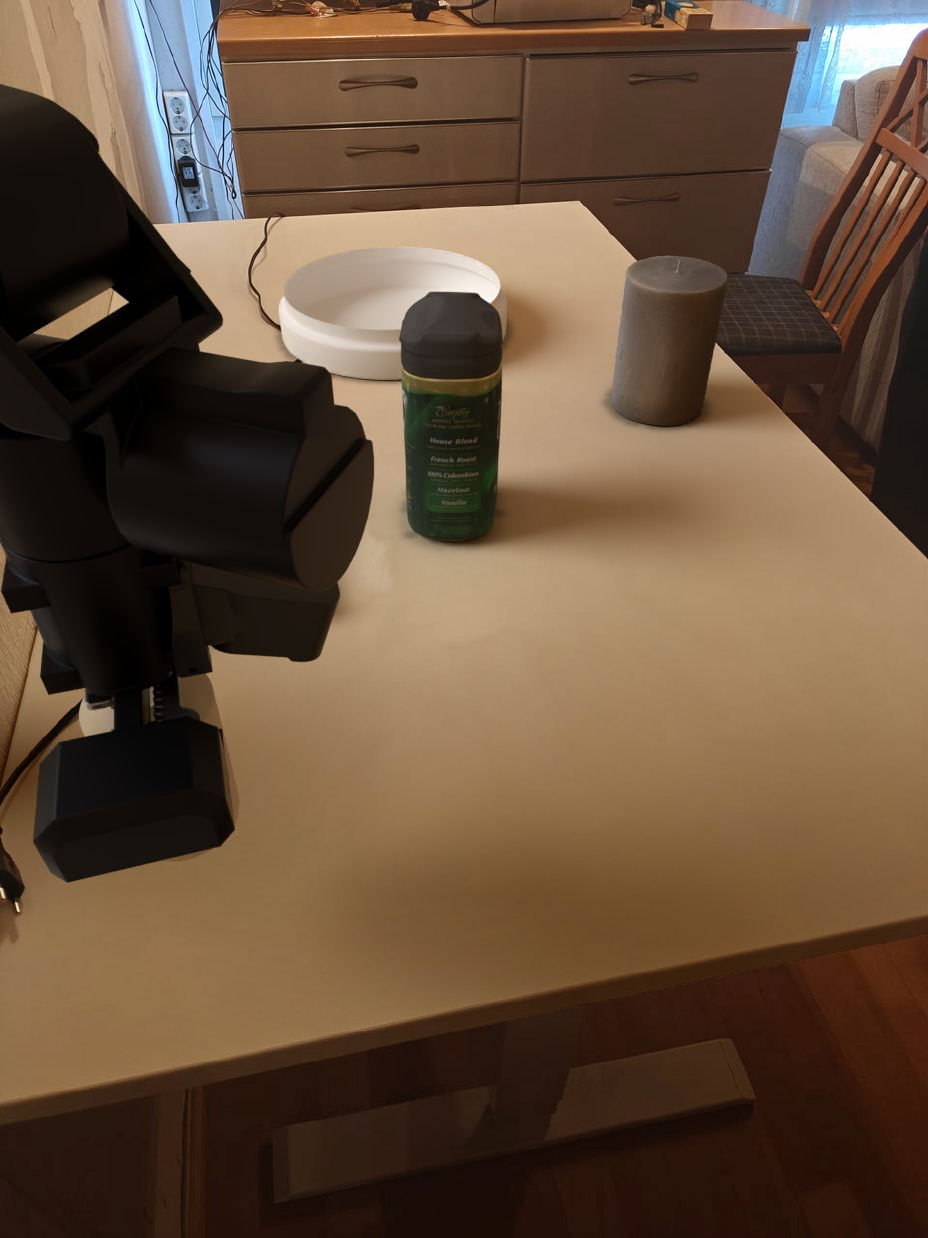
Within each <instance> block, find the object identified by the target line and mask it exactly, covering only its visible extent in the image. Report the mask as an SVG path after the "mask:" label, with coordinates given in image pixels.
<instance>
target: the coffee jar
mask: <svg viewBox="0 0 928 1238" xmlns="http://www.w3.org/2000/svg"><path fill="white" fill-rule="evenodd" d="M399 341H400V342H401V374H402V380H401V394H402V395H401V396H402V397H401V398H402V419H403V439H404V441H403V443H404V458H405V460H404V463H405V495H406V498H405V499H406V515H407V516H406V517H407V522H408V525H409V527H410V528H411V530H412V531H413V532H414V533H416V534H418V535H420V536H421V537H425V538H429V539H433V540H436V541H444V542H459V541H460V542H461V541H466V540H471V539H476V538H478V537H481V536H484V535H486V534H488V533H489V531H491V529H492V527H493V526H494V524H495V519H496V514H497V500H498V485H499V483H498V482H499V480H498V479H499V460H500V458H499V457H500V443H501V442H500V441H501V425H502V423H501V422H502V403H503V402H502V401H503V397H502V396H503V359H504V357H503V354H504V353H503V341H504V340H503V337H502V325H501V320H500V315H499V313H498V311H497V310H496V309H495V308H494V307H493V306H492V305H491V304H490V303H489V302H487V301H486V300H484V299H483V298H481V297H480V295H479V294H478V293H470V292H429V293H428V294H427V295H426V296H425V297H423V298H421V299H420V300H418V301H417V302H416V303H414V304H413V305H412V306H411V307H410V308H409V309H408V310H407V312H406V314H405V317H404V320H403V321H402V326H401V332H400V337H399Z"/></svg>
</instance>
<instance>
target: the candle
mask: <svg viewBox="0 0 928 1238" xmlns="http://www.w3.org/2000/svg"><path fill="white" fill-rule="evenodd" d="M213 686H214V685H213V683H212V681H211V678H210V677H209V676H208V673H206V674H200V675H195V676H190V677H185V678H180V690H181V703H182V707H186V708H192V709H194V710H196V711H197V712H198V713H199V716H200V719H201V721H203V722H206V723H208V724H211V725H214V726H217V727H218V729H222V732H223V740H224V749H225V758H226V763H227V768H228V774H229V782H230V790H231V799H232V807H233V816H234V824H235V825H236V823H237V820H238V816H239V812H240V794H239V790H238V786H237V782H236V781H237V780H236V777H235V773H234V769H233V764H232V760H231V756H230V753H229V752H230V751H229V748H228V744H227V740H226V736H225V735H226V734H225V732H224V728H223V724H222V720H221V715H220V711H219V707H218V703H217V699H216V694H215V691H214V687H213ZM153 690H154V689H153V687H151V688H150V710H151V721H155V718H154V715H153V713H154V712H155V711H154V708H153V705H154V702H153V698H154V696H153V692H152V691H153ZM113 701H114V697H113ZM78 722H79V726H80V729H81V731H82V734H83V737H85V736H90V735H95V734H100V733H105V732H110V731H111V729H114V705H112V706H109V707H107V708H103V709H98V710H89V709H88V708H87V706H86V703H85V695H84V696H83V698H82V701H81V703H80V706H79V711H78ZM212 850H213V849H208V850H204V851H200V852H196V853H191V854H187V855H183V856H179V857H174V858H170V859H166V860H162V861H161V862H170V863H171V862H173V863H174V862H182V861H187V860H192V859H195V858H198V857H201V856H203V855H205V854H206V853H208V852H211V851H212Z"/></svg>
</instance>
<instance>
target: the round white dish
mask: <svg viewBox="0 0 928 1238" xmlns="http://www.w3.org/2000/svg"><path fill="white" fill-rule="evenodd" d="M282 290H283V292H282V293H283V296H282V297H281V299H280V300H279V304H278V318H279V325H280V332H281V338H282V341H283V344H284V346H285V347H286V349H287V351H288V352H289V353H291V355H292V356H294V357H295V358H296V359H298V360H299V361H300V362H302V363H305V364H311V365H316V366H322V367H325V368H326V369H327V370H328V371H329V372H330V373H331V374H333V375H337V376H342V377H348V378H353V379H362V380H363V379H364V380H373V381H374V380H375V381H400V380H401V381H402V374H401V342H400V341H399V337H400V332H401V326H402V321H403V320H404V317H405V314H406V312H407V310H408V309H409V308H410V307H411V306H412V305H413V304H414V303H416V302H417V301H418V300H420V299H421V298H423V297H425V296H426V295H427V294H428V293H429V292H470V293H478V294H479V295H480V297H481V298H483V299H484V300H486V301H487V302H489V303H490V304H491V305H492V306H493V307H494V308H495V309H496V310H497V311H498V313H499V315H500V320H501V325H502V337H503V341H504V339H505V336H506V335H507V334H506V333H507V326H508V325H507V324H508V323H507V321H508V301H507V296H506V295H505V294H506V293H504V291H503V290H502V288H501V280H500V278H499V276H498V275H497V273H495V271H494V270H493V269H492V268H491V267H489V266H488V265H486V264H485V263H483V262H481V261H479V260H477V259H475V258H472V257H469V256H467V255H463V254H460V253H457V252H452V251H448V250H443V249H436V248H429V247H420V246H419V247H417V246H379V247H368V248H359V249H354V250H348V251H343V252H338V253H335V254H331V255H327V256H323V257H322V258H319V259H318V258H317V259H316V260H313V261H311V262H309V263H307V264H305V265H303V266H301V267H299V268H298V269H296V271H294V272H293V273H292V274H291V275H290V276H289V277H288V278H287V280H286V281H285V283H284V285H283V289H282Z"/></svg>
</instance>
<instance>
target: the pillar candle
mask: <svg viewBox="0 0 928 1238" xmlns="http://www.w3.org/2000/svg"><path fill="white" fill-rule="evenodd" d="M728 278H729V276H728V273H727V272H726V270H725V269H724V268H722V267H720V266H719V265H717V264H715V263H712V262H710V261H708V260H704V259H700V258H695V257H688V256H677V255H676V256H675V255H663V256H662V255H660V256H657V255H656V256H653V257H652V256H651V257H648V258H644V259H639V260H638V261H634V262H633V263H631V264H630V265H629V266H627V268H626V270H625V280H624V287H623V295H622V303H621V314H620V318H619V320H620V322H619V327H618V337H617V343H616V344H617V346H616V353H615V358H614V359H615V361H614V369H613V370H614V371H613V377H612V384H611V385H612V386H611V393H610V402H611V406H612V408H613V409H614V410H615V411H616V412H617V413H618V414H619V415H621V416H622V417H624V418H627V419H629V420H631V421H634V422H636V423H641V424H647V425H654V426H659V427H671V426H672V427H673V426H674V427H675V426H681V425H683V424H684V425H685V424H687V423H690V422H692V421H694V420H695V419H697V418H698V417H700V416H701V414H703V408H704V407H703V406H704V401H705V398H706V394H707V389H708V382H709V379H710V373H711V369H712V363H713V358H714V352H715V349H716V348H715V347H716V344H717V343H716V342H717V338H718V332H719V329H720V328H719V327H720V323H721V316H722V313H723V308H724V302H725V297H726V293H727V292H726V291H727V287H728V281H729V279H728Z"/></svg>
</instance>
